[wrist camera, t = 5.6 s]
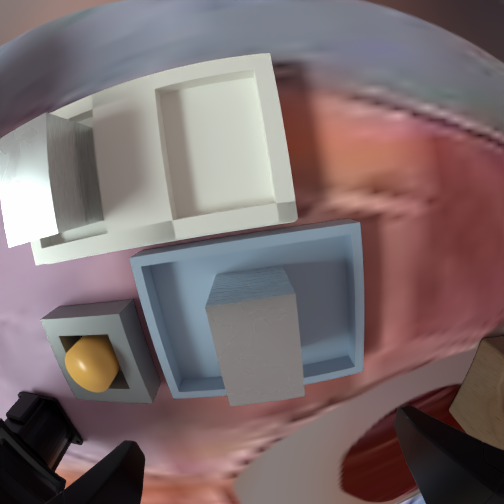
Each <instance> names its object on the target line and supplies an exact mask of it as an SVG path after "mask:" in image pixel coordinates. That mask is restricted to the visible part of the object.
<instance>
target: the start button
mask: <svg viewBox="0 0 504 504" xmlns="http://www.w3.org/2000/svg"><path fill="white" fill-rule="evenodd" d="M65 365H66V368H67V371H68V373H69V374H70V376H71V377H72V378H73V380H74V381H75V382H76V383H77V384H79V385H80V386H81V387H83V388H85V389H86V390H89V391H92V392H104V391H106V390H107V389H108V388H109V386H110V384H111V383H112V381H113V380H114V378H115V376H116V375H117V373H118V372H119V370H120V369H121V367H120V365H119V362H118V360H117V357H116V355H115V352H114V349H113V347H112V344H111V341H110V339H109V336H108V334H101V335H83V336H82V337H81V338H80V339H79V340H78V341H77V342H76V343H75V345H74V346H73V347H72V348H71V349H70V350H69V351H68V352H67V353H66V355H65Z"/></svg>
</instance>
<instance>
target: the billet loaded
mask: <svg viewBox="0 0 504 504" xmlns="http://www.w3.org/2000/svg"><path fill="white" fill-rule="evenodd" d="M0 195H1V204H2V211H3V218H4V224H5V230H6V235H7V240H8V245H9V247H12V246H15V245H18V244H22V243H25V242H29V241H32V240H36V239H39V238H43V237H47V236H50V235H54V234H58V233H61V232H65V231H68V230H71V229H75V228H78V227H82V226H86V225H89V224H93V223H97V222H100V221H104V218H103V212H102V206H101V200H100V194H99V187H98V180H97V173H96V165H95V156H94V145H93V134H92V127H89V126H86V125H83V124H80V123H77V122H74V121H71V120H68V119H65V118H62V117H59V116H56V115H53V114H50V113H44V114H42V115H40V116H38V117H36V118H34V119H32V120H30V121H29V122H27V123H25V124H23V125H22V126H20V127H18V128H16V129H15V130H13V131H11V132H10V133H8V134H7V135H5V136H3V137H2V138H0Z"/></svg>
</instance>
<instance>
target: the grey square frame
mask: <svg viewBox="0 0 504 504" xmlns="http://www.w3.org/2000/svg"><path fill="white" fill-rule="evenodd" d="M41 323H42V325H43V328H44V331H45V333H46V336H47V338H48V341H49V343H50V346H51V348H52V350H53V353H54V355H55V357H56V359H57V362H58V364H59V366H60V368H61V370H62V372H63V374H64V376H65V378H66V380H67V382H68V384H69V386H70V388H71V390H72V392H73V394H74V396H75V398H76V399H83V400H93V401H106V402H125V403H153V401H154V399H155V396H156V394H157V391H158V389H159V386H160V384H161V382H160V379H159V376H158V374H157V371H156V368H155V366H154V363H153V360H152V357H151V355H150V352H149V349H148V346H147V343H146V340H145V337H144V334H143V331H142V328H141V324H140V321H139V318H138V315H137V311H136V308H135V304H134V301H133V299H129V300H120V301H111V302H102V303H92V304H82V305H72V306H62V307H57V308H56V309H54V310H53V311H51V312H50V313H49V314H47V315H46V316H45V317H43V318H42V319H41ZM101 334H108V336H109V339H110V341H111V344H112V347H113V349H114V352H115V355H116V357H117V360H118V362H119V365H120V367H121V369H122V370H119V372H118V373H117V375H116V376H115V378H114V380H113V381H112V383H111V384H110V386H109V388H108V389H107V390H106V391H104V392H92V391H89V390H86V389H85V388H83V387H81V386H80V385H79V384H77V383H76V382H75V381H74V380H73V378H72V377H71V376H70V374H69V373H68V371H67V368H66V365H65V355H66V353H67V352H68V351H69V350H70V349H71V348H72V347H73V346H74V345H75V343H76V342H77V341H78V340H79V339H80V338H81V336H80V335H101Z"/></svg>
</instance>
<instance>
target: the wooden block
mask: <svg viewBox="0 0 504 504" xmlns="http://www.w3.org/2000/svg"><path fill="white" fill-rule="evenodd" d="M449 411H450V413H451V414H452V415H453V416H454V418H455V419H456V420H457V422H458V423H459V424H460V425H461V427H462V428H463V429H464V430H465V432H466V433H467V434H468V435H470V436H473V437H475V438H477V439H479V440H481V441H483V442H486V443H488V444H490V445H492V446H495V447H497V448H499V449H502V450H504V336H499V337H492V338H484V339H482V340H481V342H480V345H479V347H478V350H477V352H476V355H475V357H474V359H473V362H472V364H471V366H470V369H469V371H468V373H467V375H466V377H465V379H464V381H463V383H462V385H461V387H460V389H459V391H458V393H457V395H456V397H455V399H454V401H453V402H452V404H451V406H450V408H449Z"/></svg>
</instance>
